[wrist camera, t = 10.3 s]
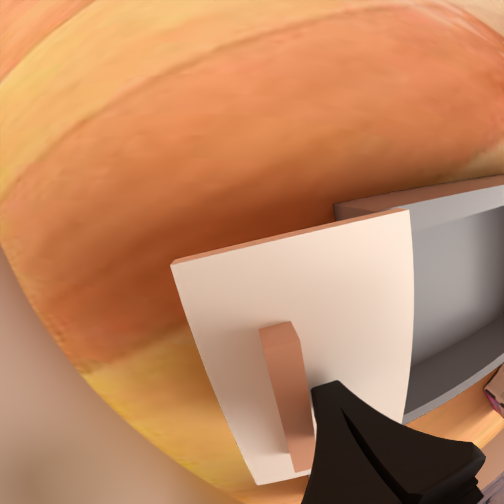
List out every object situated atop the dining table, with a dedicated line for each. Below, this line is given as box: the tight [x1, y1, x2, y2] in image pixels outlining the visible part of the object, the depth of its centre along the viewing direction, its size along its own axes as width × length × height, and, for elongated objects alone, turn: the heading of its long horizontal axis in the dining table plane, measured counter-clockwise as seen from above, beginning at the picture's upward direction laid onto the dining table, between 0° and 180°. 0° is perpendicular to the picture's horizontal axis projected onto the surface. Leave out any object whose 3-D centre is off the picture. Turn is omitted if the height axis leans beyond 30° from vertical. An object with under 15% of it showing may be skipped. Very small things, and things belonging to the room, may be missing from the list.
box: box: [333, 174, 504, 425], centre depth 15 cm, size 18×14×5 cm
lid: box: [170, 208, 414, 485], centre depth 11 cm, size 9×14×2 cm, turn 13°
